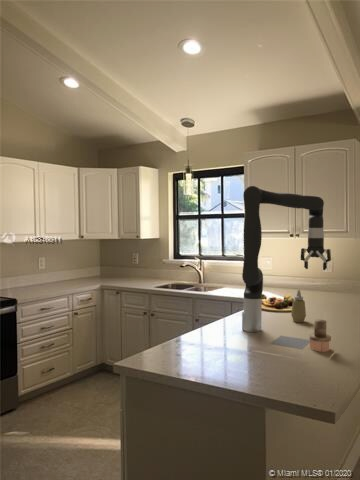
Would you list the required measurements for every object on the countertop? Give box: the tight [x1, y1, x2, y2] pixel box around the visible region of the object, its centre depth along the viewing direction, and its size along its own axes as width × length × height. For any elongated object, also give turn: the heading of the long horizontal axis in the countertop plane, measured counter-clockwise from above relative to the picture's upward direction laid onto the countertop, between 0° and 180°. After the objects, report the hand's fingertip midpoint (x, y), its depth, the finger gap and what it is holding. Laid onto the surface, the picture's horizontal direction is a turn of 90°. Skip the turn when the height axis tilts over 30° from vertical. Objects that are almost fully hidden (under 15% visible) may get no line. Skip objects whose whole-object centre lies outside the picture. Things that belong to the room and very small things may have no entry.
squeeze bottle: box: [290, 289, 307, 323], centre depth 230 cm, size 8×8×18 cm
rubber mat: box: [269, 335, 310, 350], centre depth 189 cm, size 15×16×1 cm
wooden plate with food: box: [262, 293, 295, 313], centre depth 269 cm, size 32×32×8 cm
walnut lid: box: [309, 319, 332, 342], centre depth 179 cm, size 9×9×8 cm
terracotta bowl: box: [309, 338, 331, 353], centre depth 179 cm, size 8×8×5 cm
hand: (315, 269), depth 201 cm, fingers open, 8 cm apart
